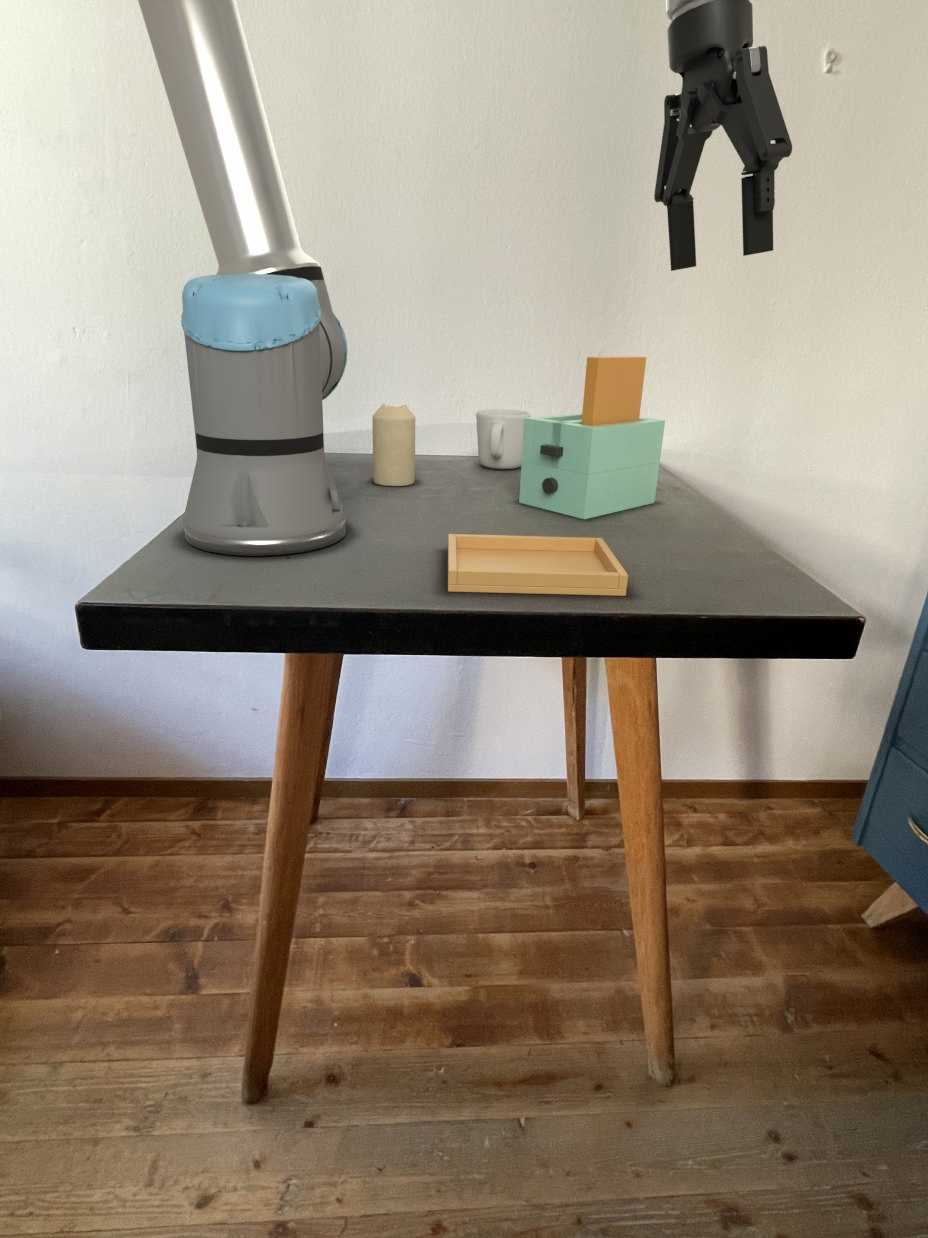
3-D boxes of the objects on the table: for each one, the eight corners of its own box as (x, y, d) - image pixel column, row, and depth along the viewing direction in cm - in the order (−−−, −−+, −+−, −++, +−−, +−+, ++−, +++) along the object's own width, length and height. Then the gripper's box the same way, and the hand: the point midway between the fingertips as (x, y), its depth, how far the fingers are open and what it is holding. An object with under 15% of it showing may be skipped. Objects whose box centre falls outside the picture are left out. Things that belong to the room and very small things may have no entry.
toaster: (512, 504, 89) (517, 418, 85) (590, 488, 98) (597, 411, 95) (577, 521, 82) (586, 428, 78) (654, 502, 92) (665, 420, 88)
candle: (416, 478, 101) (417, 402, 97) (413, 487, 96) (413, 407, 92) (376, 477, 101) (375, 401, 97) (370, 485, 96) (369, 405, 92)
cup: (521, 477, 104) (524, 418, 101) (465, 473, 105) (467, 415, 102) (530, 464, 114) (533, 410, 111) (479, 460, 115) (481, 407, 112)
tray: (447, 591, 59) (448, 570, 58) (447, 552, 69) (448, 533, 69) (625, 596, 60) (628, 575, 59) (600, 556, 70) (602, 537, 69)
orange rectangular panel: (577, 467, 85) (587, 356, 80) (623, 459, 91) (635, 356, 86) (588, 469, 84) (598, 357, 79) (634, 461, 89) (646, 357, 85)
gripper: (840, -63, 58) (834, 238, 65) (676, 55, 80) (687, 268, 88) (754, -55, 56) (760, 251, 64) (613, 63, 79) (629, 278, 87)
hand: (717, 261), depth 76 cm, fingers open, 13 cm apart
